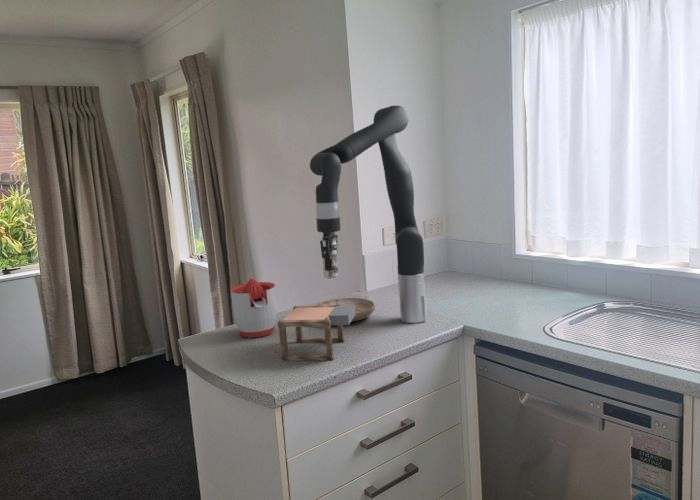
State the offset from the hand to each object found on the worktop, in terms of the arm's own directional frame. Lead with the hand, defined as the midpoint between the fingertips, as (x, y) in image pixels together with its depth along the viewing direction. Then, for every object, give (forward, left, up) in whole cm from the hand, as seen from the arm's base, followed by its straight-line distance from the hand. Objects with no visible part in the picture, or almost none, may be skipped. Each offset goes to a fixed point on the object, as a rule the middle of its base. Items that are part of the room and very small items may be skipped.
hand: (330, 268), depth 179 cm
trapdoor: (+2, +9, -14) cm, 17 cm away
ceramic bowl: (+2, -26, -25) cm, 36 cm away
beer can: (0, 0, -3) cm, 3 cm away
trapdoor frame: (+5, +9, -24) cm, 26 cm away
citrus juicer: (+30, -8, -24) cm, 40 cm away
